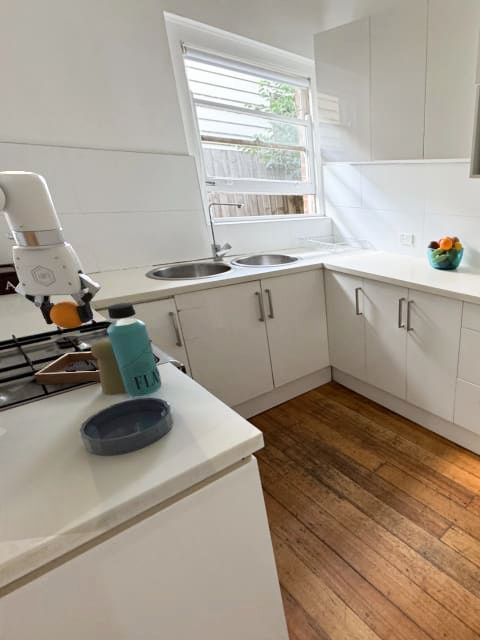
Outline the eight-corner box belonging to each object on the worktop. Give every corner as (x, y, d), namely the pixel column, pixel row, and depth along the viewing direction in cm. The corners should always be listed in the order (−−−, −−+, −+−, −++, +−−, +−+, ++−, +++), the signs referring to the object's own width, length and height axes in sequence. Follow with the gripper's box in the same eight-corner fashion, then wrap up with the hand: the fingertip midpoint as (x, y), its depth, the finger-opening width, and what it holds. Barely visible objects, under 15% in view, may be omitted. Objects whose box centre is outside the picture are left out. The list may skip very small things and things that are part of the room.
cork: (142, 384, 84) (129, 339, 80) (113, 397, 79) (96, 349, 75) (125, 378, 86) (111, 333, 82) (95, 390, 81) (79, 343, 77)
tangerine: (48, 333, 82) (38, 306, 79) (66, 323, 87) (57, 298, 85) (80, 332, 83) (70, 305, 80) (96, 322, 88) (87, 297, 86)
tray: (37, 384, 83) (33, 374, 82) (70, 361, 93) (67, 352, 92) (105, 381, 85) (102, 371, 84) (130, 359, 95) (127, 350, 94)
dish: (67, 459, 62) (60, 444, 61) (111, 413, 74) (106, 400, 73) (155, 451, 64) (151, 437, 63) (184, 408, 76) (181, 395, 75)
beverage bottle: (138, 406, 76) (108, 312, 68) (121, 397, 79) (91, 306, 71) (171, 392, 82) (147, 303, 74) (153, 384, 85) (129, 297, 77)
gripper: (-26, 242, 72) (12, 329, 79) (76, 241, 75) (105, 326, 82) (5, 235, 79) (38, 317, 86) (98, 235, 82) (122, 314, 89)
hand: (70, 320), depth 84 cm, fingers closed on tangerine, 6 cm apart
